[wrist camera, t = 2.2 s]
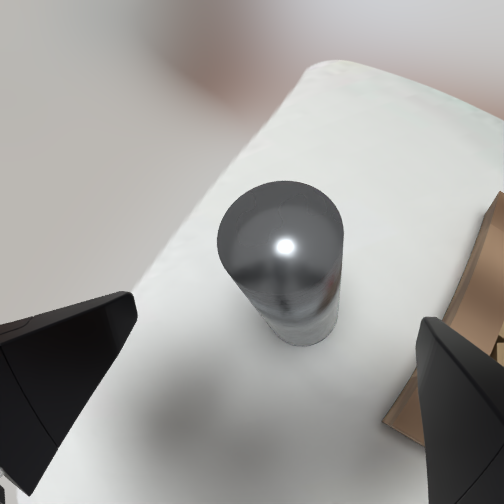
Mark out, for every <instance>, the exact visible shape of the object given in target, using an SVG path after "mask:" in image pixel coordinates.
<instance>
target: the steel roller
mask: <svg viewBox="0 0 504 504" xmlns="http://www.w3.org/2000/svg"><path fill="white" fill-rule="evenodd" d="M343 238H344V230H343V223H342V219H341V216H340V214H339V211H338V210H337V208H336V206H335V205H334V203H333V202H332V201H331V200H330V199H329V198H328V197H327V196H326V195H325V194H324V193H322V192H321V191H320V190H318V189H316V188H314V187H312V186H310V185H307V184H304V183H300V182H294V181H276V182H270V183H266V184H263V185H260V186H258V187H255V188H253V189H251V190H249V191H248V192H246V193H245V194H243V195H242V196H240V197H239V198H238V199H237V200H236V201H235V202H234V203H233V204H232V205H231V206H230V208H229V209H228V210H227V212H226V213H225V215H224V217H223V219H222V221H221V223H220V226H219V230H218V236H217V248H218V254H219V257H220V260H221V262H222V264H223V266H224V268H225V269H226V271H227V272H228V274H229V275H230V276H231V278H232V279H233V280H234V281H235V283H236V284H237V285H238V287H239V288H240V289H241V290H242V292H243V293H244V294H245V295H246V297H247V298H248V299H249V301H250V302H251V303H252V304H253V306H254V307H255V308H256V309H257V311H258V312H259V313H260V314H261V316H262V317H263V318H264V319H265V321H266V322H267V323H268V324H269V326H270V327H271V328H272V329H273V331H274V332H275V333H276V334H277V336H278V337H279V338H281V339H282V340H283V341H285V342H287V343H289V344H292V345H295V346H309V345H313V344H316V343H318V342H320V341H322V340H323V339H324V338H326V337H327V336H328V335H329V334H330V332H331V331H332V330H333V328H334V326H335V324H336V321H337V316H338V307H339V296H340V284H341V270H342V255H343Z"/></svg>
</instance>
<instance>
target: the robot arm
mask: <svg viewBox="0 0 504 504" xmlns="http://www.w3.org/2000/svg"><path fill="white" fill-rule="evenodd" d="M137 318H138V314H137V309H136V305H135V300H134V296H133V294H132V293H130V292H125V291H119V292H116V293H112V294H109V295H105V296H102V297H98V298H95V299H91V300H88V301H84V302H81V303H77V304H74V305H70V306H67V307H64V308H60V309H56V310H53V311H49V312H46V313H42V314H39V315H35V316H34V317H28V318H25V319H21V320H17V321H14V322H10V323H6V324H2V325H0V478H1V477H2V476H3V475H4V476H5V477H6V478H7V479H9V480H10V481H11V482H12V483H13V484H14V485H16V486H17V487H18V488H19V489H20V490H22V491H23V492H24V493H25V494H27V495H28V496H31V494H32V493H33V491H34V490H35V488H36V486H37V484H38V483H39V481H40V479H41V477H42V476H43V474H44V472H45V471H46V469H47V467H48V465H49V464H50V462H51V460H52V459H53V457H54V455H55V454H56V452H57V450H58V448H59V447H60V445H61V443H62V442H63V440H64V438H65V437H66V435H67V434H68V432H69V430H70V429H71V427H72V425H73V424H74V422H75V421H76V419H77V417H78V416H79V414H80V413H81V411H82V410H83V408H84V406H85V405H86V403H87V402H88V400H89V399H90V397H91V396H92V394H93V392H94V391H95V389H96V388H97V386H98V385H99V383H100V382H101V380H102V379H103V377H104V376H105V374H106V373H107V371H108V370H109V368H110V367H111V365H112V364H113V362H114V361H115V359H116V358H117V356H118V354H119V353H120V351H121V349H122V347H123V345H124V344H125V342H126V340H127V338H128V336H129V334H130V332H131V331H132V329H133V327H134V325H135V323H136V321H137ZM416 361H417V380H418V396H419V403H420V410H421V418H422V425H423V434H424V443H425V453H426V464H427V478H428V498H429V504H504V367H503V366H502V365H501V364H499V363H498V362H497V361H495V360H494V359H493V358H491V357H490V356H489V355H488V354H486V353H485V352H484V351H482V350H481V349H479V348H478V347H477V346H475V345H474V344H473V343H471V342H470V341H469V340H467V339H466V338H465V337H463V336H462V335H460V334H459V333H458V332H456V331H455V330H454V329H452V328H451V327H449V326H448V325H447V324H445V323H444V322H442V321H441V320H440V319H438V318H437V317H424V318H423V319H422V321H421V324H420V329H419V333H418V337H417V341H416ZM4 493H5V492H4V488H3V487H2V486H1V485H0V504H5V494H4Z"/></svg>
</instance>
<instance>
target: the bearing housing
mask: <svg viewBox="0 0 504 504" xmlns="http://www.w3.org/2000/svg"><path fill="white" fill-rule="evenodd" d="M442 322H444V323H445V324H447V325H448V326H449V327H451V328H452V329H454V330H455V331H456V332H458V333H459V334H460V335H462V336H463V337H465V338H466V339H467V340H469V341H470V342H471V343H473V344H474V345H475V346H477V347H478V348H479V349H481V350H482V351H484V352H485V353H486V354H488V355H489V356H490V357H491V358H493V359H494V360H495V361H497V362H498V363H499V364H501V365H502V366H503V367H504V193H503V192H501V191H499V193H498V195H497V196H496V198H495V199H494V201H493V203H492V204H491V206H490V207H489V209H488V210H487V212H486V214H485V216H484V219H483V222H482V225H481V228H480V231H479V234H478V237H477V239H476V242H475V245H474V248H473V250H472V253H471V256H470V258H469V261H468V263H467V266H466V268H465V271H464V273H463V276H462V278H461V280H460V283H459V285H458V287H457V290H456V292H455V294H454V296H453V298H452V301H451V303H450V305H449V307H448V309H447V311H446V313H445V315H444V317H443V319H442ZM382 422H383V423H385V424H387V425H388V426H390V427H392V428H393V429H395V430H397V431H398V432H400V433H402V434H403V435H405V436H407V437H408V438H410V439H412V440H414V441H415V442H417V443H419V444H420V445H422V446H424V447H425V443H424V434H423V425H422V418H421V410H420V403H419V396H418V380H417V368H416V369H415V371H414V373H413V374H412V376H411V378H410V379H409V381H408V383H407V384H406V386H405V387H404V389H403V390H402V392H401V394H400V395H399V397H398V398H397V400H396V401H395V403H394V404H393V406H392V407H391V409H390V410H389V412H388V413H387V415H386V416H385V418H384V419H383V420H382Z"/></svg>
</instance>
